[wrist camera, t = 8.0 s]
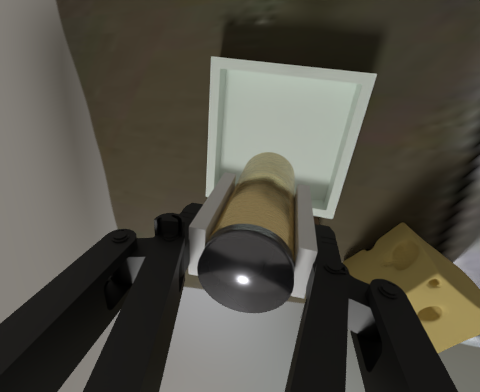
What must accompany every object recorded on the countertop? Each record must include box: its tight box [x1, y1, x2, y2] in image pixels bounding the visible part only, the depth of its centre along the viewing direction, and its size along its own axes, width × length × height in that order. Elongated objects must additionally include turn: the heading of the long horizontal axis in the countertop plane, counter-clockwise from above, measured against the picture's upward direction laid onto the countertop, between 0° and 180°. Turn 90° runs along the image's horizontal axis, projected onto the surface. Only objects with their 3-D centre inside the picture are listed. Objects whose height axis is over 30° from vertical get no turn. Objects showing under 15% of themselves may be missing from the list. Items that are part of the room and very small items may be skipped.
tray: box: [206, 56, 377, 219], centre depth 30 cm, size 16×16×4 cm
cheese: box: [343, 222, 480, 353], centre depth 32 cm, size 10×11×10 cm
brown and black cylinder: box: [197, 152, 295, 313], centre depth 15 cm, size 4×4×11 cm
